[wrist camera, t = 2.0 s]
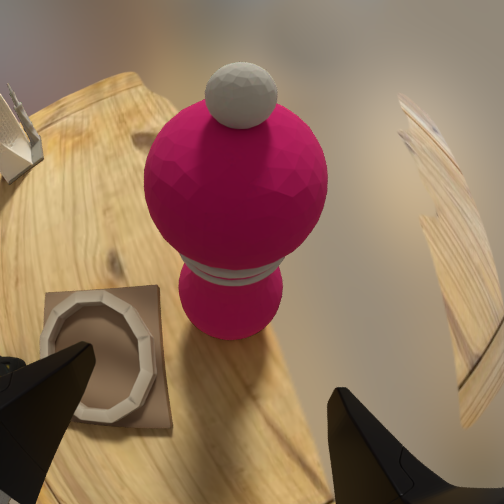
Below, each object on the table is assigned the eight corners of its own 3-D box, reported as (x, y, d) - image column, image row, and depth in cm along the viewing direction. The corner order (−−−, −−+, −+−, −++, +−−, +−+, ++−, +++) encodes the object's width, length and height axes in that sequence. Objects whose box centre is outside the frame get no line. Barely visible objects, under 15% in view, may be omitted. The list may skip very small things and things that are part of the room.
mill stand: (173, 425, 18) (167, 430, 16) (54, 416, 16) (41, 417, 14) (159, 288, 23) (153, 279, 21) (50, 295, 21) (39, 288, 19)
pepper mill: (261, 355, 21) (422, 240, 3) (177, 332, 22) (21, 153, 4) (279, 276, 25) (376, 57, 7) (201, 256, 25) (172, 22, 7)
